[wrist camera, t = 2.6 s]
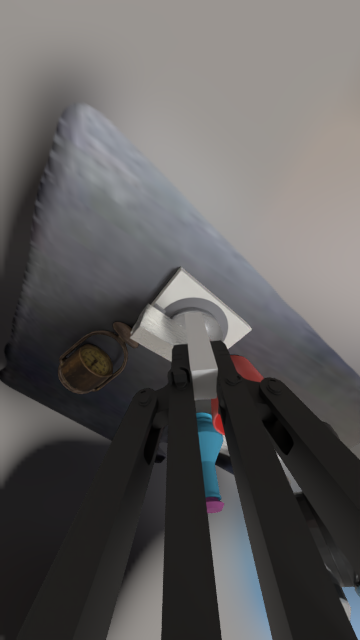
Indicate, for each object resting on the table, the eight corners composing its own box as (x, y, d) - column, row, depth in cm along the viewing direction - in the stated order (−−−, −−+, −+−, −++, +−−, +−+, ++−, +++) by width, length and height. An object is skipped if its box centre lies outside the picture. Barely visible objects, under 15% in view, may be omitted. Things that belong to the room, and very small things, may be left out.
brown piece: (26, 353, 21) (62, 409, 24) (108, 334, 19) (137, 400, 22) (68, 331, 28) (92, 377, 31) (133, 315, 25) (153, 367, 28)
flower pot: (193, 380, 33) (199, 433, 24) (220, 340, 28) (239, 390, 19) (237, 391, 35) (256, 443, 27) (269, 357, 30) (305, 407, 22)
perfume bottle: (202, 432, 44) (214, 518, 31) (175, 422, 41) (174, 513, 28) (226, 417, 40) (250, 507, 27) (197, 405, 37) (209, 500, 24)
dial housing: (247, 322, 26) (253, 331, 24) (197, 364, 30) (198, 374, 28) (180, 266, 21) (181, 270, 19) (133, 325, 26) (129, 334, 24)
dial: (231, 329, 24) (250, 364, 18) (193, 361, 27) (199, 401, 21) (165, 277, 20) (161, 300, 13) (130, 322, 23) (113, 357, 17)
